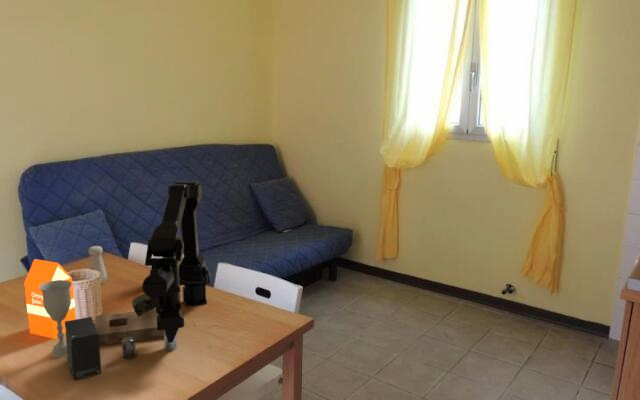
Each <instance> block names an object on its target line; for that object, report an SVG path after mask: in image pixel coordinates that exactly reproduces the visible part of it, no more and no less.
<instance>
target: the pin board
mask: <svg viewBox="0 0 640 400" xmlns="http://www.w3.org/2000/svg"><path fill="white" fill-rule="evenodd" d="M158 315H159V314H158V313H157V312H156V308H154V309H153V310H150V311H148V312H146V313H144V314H143V315H141V316H137V314H136V313H135V310H134V311H129V312H128V311H127V312H120V313H119V312H117V313H110V314H109V313H108V314H102V315H96V316H95V319H94V324H95V326H96V329H97V331H98V333H99V346H103V345H106V346H107V345H111V344H113V345H114V344H120V343H122V339H124V338H126V337H134V338H135V341H142V340H148V339H156V338H162V337H163V338H164V330H157V316H158Z"/></svg>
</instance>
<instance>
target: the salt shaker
mask: <svg viewBox="0 0 640 400" xmlns="http://www.w3.org/2000/svg"><path fill="white" fill-rule="evenodd" d="M103 251H104V250H103V247H102V246H100V245H93V246H91V247H89V248H88V254H89V255H90V261H89V269H91V270H97V271H100V273H101V277H102V285H104V284H105V283H106V282H107V279H108V274H107V269H106V268H105V263H104V260H103V257H102V254H103Z"/></svg>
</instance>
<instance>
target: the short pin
mask: <svg viewBox="0 0 640 400" xmlns="http://www.w3.org/2000/svg"><path fill="white" fill-rule="evenodd" d="M121 347H122V350H121V351H122V358H123V359H124V360H131V359H134V358H136V356H137V353H136V340H135V338H134V337H126V338H124V339H122V342H121Z"/></svg>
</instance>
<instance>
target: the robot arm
mask: <svg viewBox="0 0 640 400" xmlns="http://www.w3.org/2000/svg"><path fill="white" fill-rule="evenodd" d="M202 195H203V186H202V185H201V184H200V183H199V181H193V180H192V181H186V180H185V181H184V180H183V181H179V180H177V181H175V182H174V183H173V184H168V197H167V201H166V204H165V209H164V212H163V216H162V219H161V223H160V224H159V225H158V226H157V227H155V228H154V230H153V231H152V234H151V236H150V238H149V239H148V242H147V249H146V253H145V261H144V266H146V267H151V269H150V271H149V274H148V275H147V276H146V277H145V278H144V280H143V282H142V284H141V285H142V286H141V288H142V291H143V294H141V295H139V296H136V297H134V298H133V299H132V301H131V306H132V308H133V310H134V311H135V313H136V314H137V316H141V315H143V314H144V313H146V312H148V311H150V310H153V309H156V312H157V313H158V314H159V315H158V316H157V330H165V333H166V336H167V339H168V342H169V343H171V342H173V341H174V338H175V336H176V337H177V333H178V330H179V329H181V328H184V327H185V317H184V313H183V312H182V311H181V308H182V305H181V293H180V292H181V290H182V301H183V303H184V305H185V306H186V307H190V306H191V307H192V306H199V305H206V304H208V301H207V289H206V286H208V285H210V284H211V275H210V274H211V273H210V271H209V269H208V266H207V265H206V259H205V258H204V257H203V255H202V254H201V253H200V249H199V234H198V233H199V232H198V220H197V207H198V206H199V203H201V198H202ZM180 228H181V233H180ZM182 255H183V259H182ZM181 260H182V261H181ZM180 261H181V263H180V265H178V264H179V262H180ZM180 286H182V289H181V287H180Z"/></svg>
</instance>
